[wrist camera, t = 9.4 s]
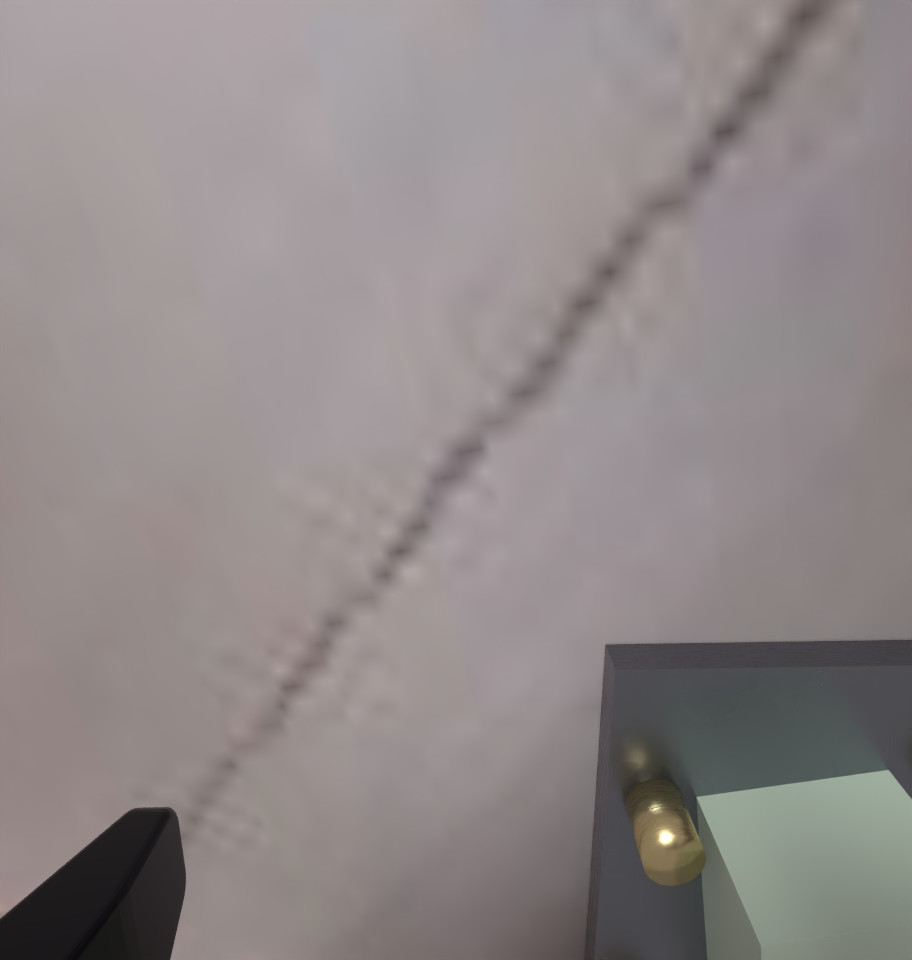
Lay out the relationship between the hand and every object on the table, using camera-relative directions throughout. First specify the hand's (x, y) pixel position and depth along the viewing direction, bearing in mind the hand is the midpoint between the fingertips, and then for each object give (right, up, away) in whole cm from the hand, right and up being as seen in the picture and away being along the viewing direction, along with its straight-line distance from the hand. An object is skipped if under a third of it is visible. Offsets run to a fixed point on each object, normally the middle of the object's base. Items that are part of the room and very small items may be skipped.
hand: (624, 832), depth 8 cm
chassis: (+8, -8, +16) cm, 19 cm away
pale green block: (+8, -9, +15) cm, 19 cm away
